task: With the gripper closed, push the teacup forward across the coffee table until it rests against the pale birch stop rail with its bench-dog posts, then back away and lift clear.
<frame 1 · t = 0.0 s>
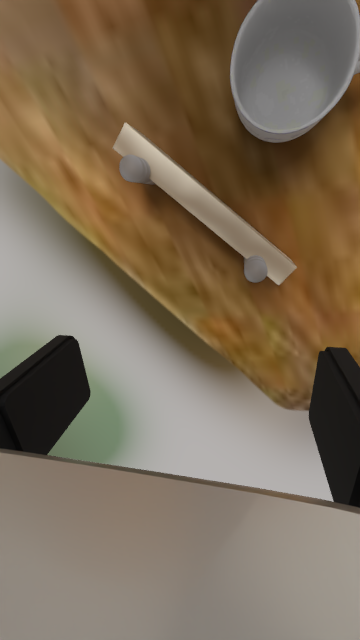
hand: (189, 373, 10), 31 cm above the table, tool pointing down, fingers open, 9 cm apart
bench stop: (210, 207, 37), on the table
teacup: (295, 91, 30), on the table
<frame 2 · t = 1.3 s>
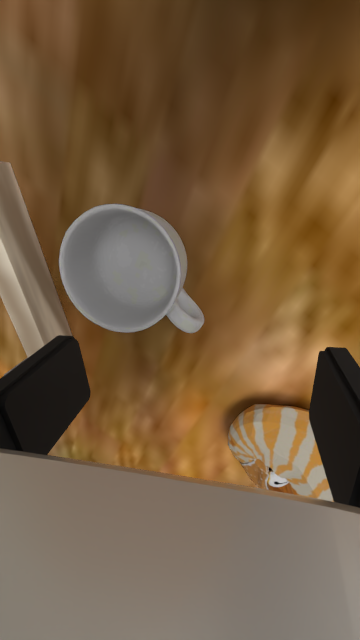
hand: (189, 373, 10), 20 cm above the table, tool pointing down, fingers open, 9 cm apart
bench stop: (42, 283, 33), on the table
teacup: (156, 267, 30), on the table
nautilus: (285, 447, 36), on the table
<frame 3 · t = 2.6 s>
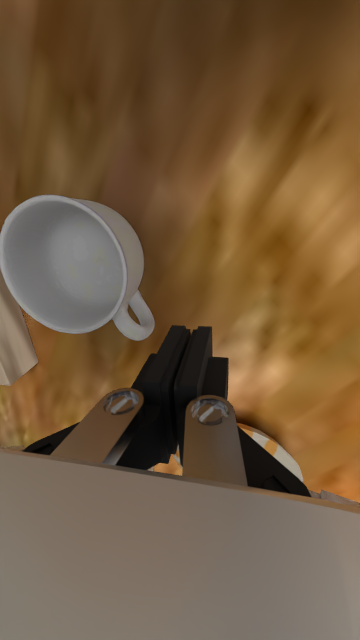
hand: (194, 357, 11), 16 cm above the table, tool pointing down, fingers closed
teacup: (116, 264, 28), on the table
nautilus: (233, 458, 37), on the table
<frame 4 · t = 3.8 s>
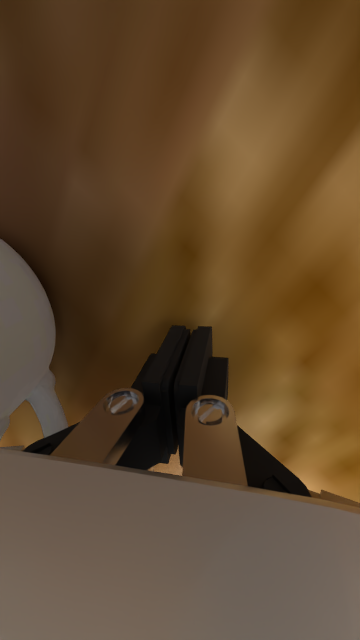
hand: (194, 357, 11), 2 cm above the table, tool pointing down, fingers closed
teacup: (21, 317, 16), on the table
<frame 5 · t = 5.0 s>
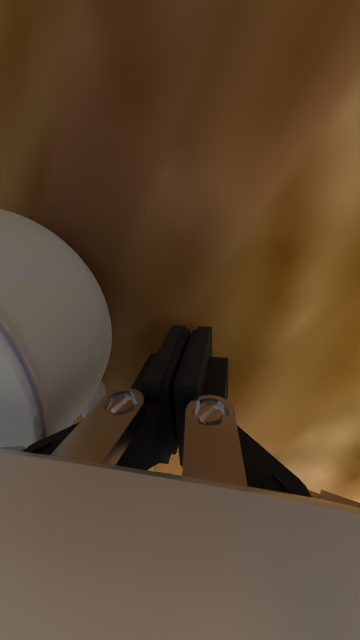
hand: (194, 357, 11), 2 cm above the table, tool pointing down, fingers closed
teacup: (65, 322, 15), on the table, touching gripper
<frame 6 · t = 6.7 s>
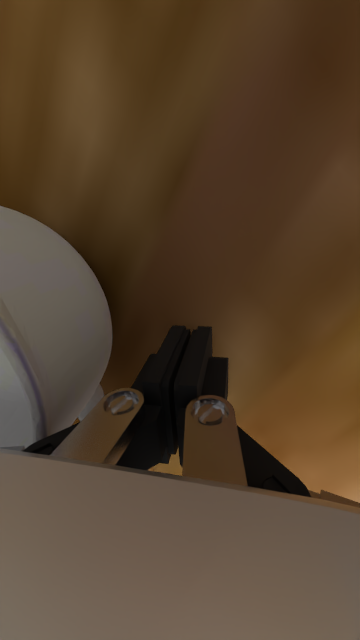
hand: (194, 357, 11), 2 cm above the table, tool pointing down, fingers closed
teacup: (64, 322, 15), on the table, touching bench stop, gripper
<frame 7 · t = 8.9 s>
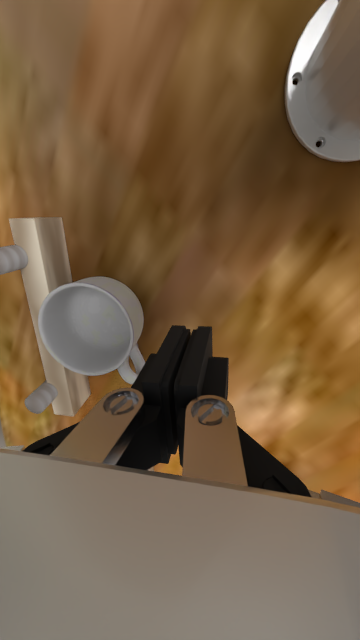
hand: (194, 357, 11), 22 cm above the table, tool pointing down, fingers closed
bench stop: (68, 316, 38), on the table
teacup: (120, 318, 36), on the table, touching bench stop
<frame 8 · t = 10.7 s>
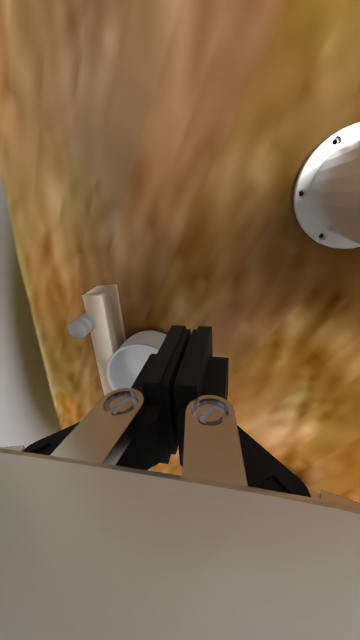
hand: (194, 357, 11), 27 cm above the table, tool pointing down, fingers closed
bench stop: (120, 356, 47), on the table
teacup: (163, 357, 45), on the table, touching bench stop
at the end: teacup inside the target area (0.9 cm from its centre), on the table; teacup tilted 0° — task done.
